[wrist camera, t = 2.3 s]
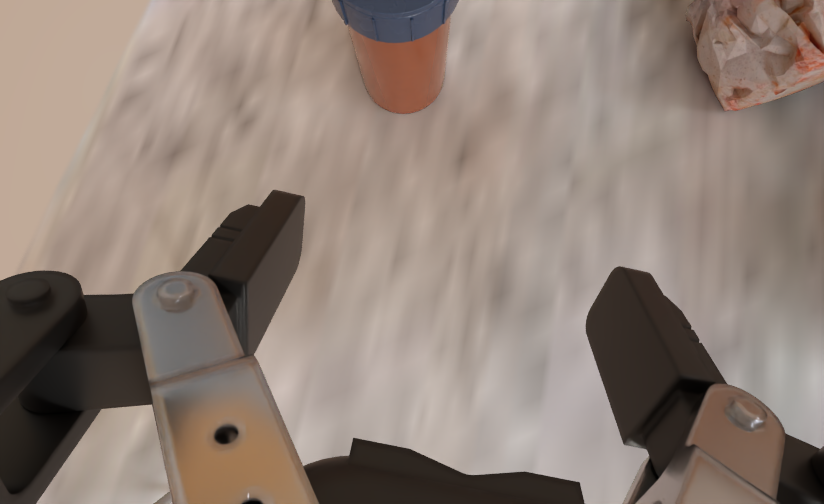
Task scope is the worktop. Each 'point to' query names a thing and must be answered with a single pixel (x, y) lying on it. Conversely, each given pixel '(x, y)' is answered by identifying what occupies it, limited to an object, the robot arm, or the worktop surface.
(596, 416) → the worktop surface
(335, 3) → the lid
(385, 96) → the jar
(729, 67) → the food item
